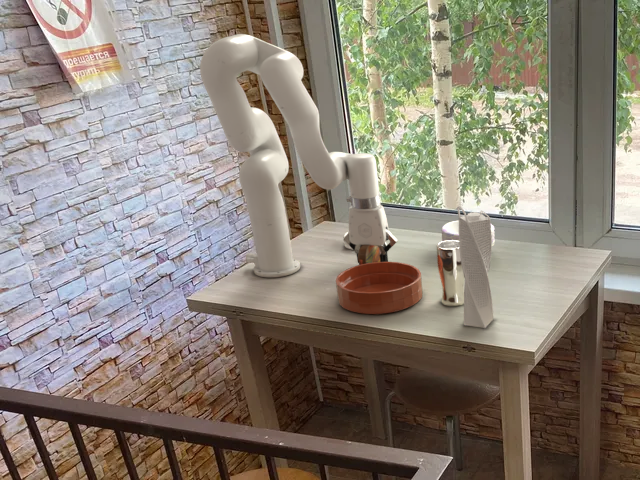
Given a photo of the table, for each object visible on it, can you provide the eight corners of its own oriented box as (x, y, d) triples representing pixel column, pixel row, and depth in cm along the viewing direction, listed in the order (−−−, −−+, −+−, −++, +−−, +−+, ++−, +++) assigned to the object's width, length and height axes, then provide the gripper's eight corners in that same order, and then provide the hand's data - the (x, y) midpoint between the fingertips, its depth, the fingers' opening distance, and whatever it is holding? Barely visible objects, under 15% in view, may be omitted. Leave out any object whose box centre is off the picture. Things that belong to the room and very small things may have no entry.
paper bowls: (505, 249, 231) (504, 223, 228) (475, 265, 220) (474, 238, 216) (462, 241, 239) (461, 215, 235) (432, 256, 228) (430, 229, 224)
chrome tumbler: (457, 309, 195) (453, 251, 187) (434, 303, 198) (430, 246, 191) (473, 299, 200) (470, 242, 192) (450, 294, 203) (447, 238, 196)
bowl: (325, 312, 194) (322, 290, 192) (357, 280, 212) (354, 259, 210) (407, 318, 191) (405, 295, 188) (432, 285, 209) (431, 263, 206)
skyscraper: (456, 326, 186) (449, 210, 172) (469, 313, 192) (463, 200, 178) (487, 330, 184) (482, 213, 170) (499, 318, 190) (495, 203, 176)
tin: (369, 280, 213) (366, 250, 209) (358, 279, 213) (354, 249, 209) (388, 260, 225) (385, 232, 221) (377, 260, 226) (374, 231, 222)
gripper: (330, 204, 208) (339, 269, 217) (392, 207, 205) (398, 272, 214) (341, 196, 215) (349, 259, 224) (401, 199, 212) (407, 262, 220)
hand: (373, 265), depth 219 cm, fingers open, 5 cm apart
